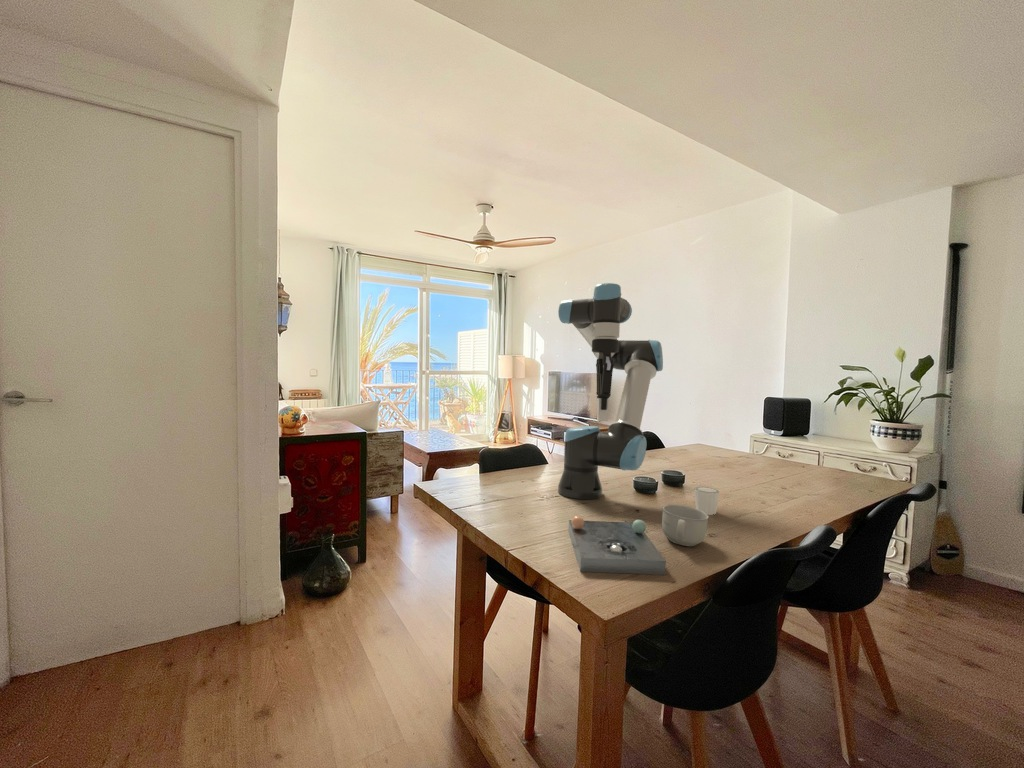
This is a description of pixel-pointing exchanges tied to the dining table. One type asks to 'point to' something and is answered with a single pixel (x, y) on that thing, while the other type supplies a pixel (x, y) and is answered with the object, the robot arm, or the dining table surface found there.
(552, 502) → the dining table surface
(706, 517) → the teacup
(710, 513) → the shot glass
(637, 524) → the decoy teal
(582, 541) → the plate
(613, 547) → the steel ball
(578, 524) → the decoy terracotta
